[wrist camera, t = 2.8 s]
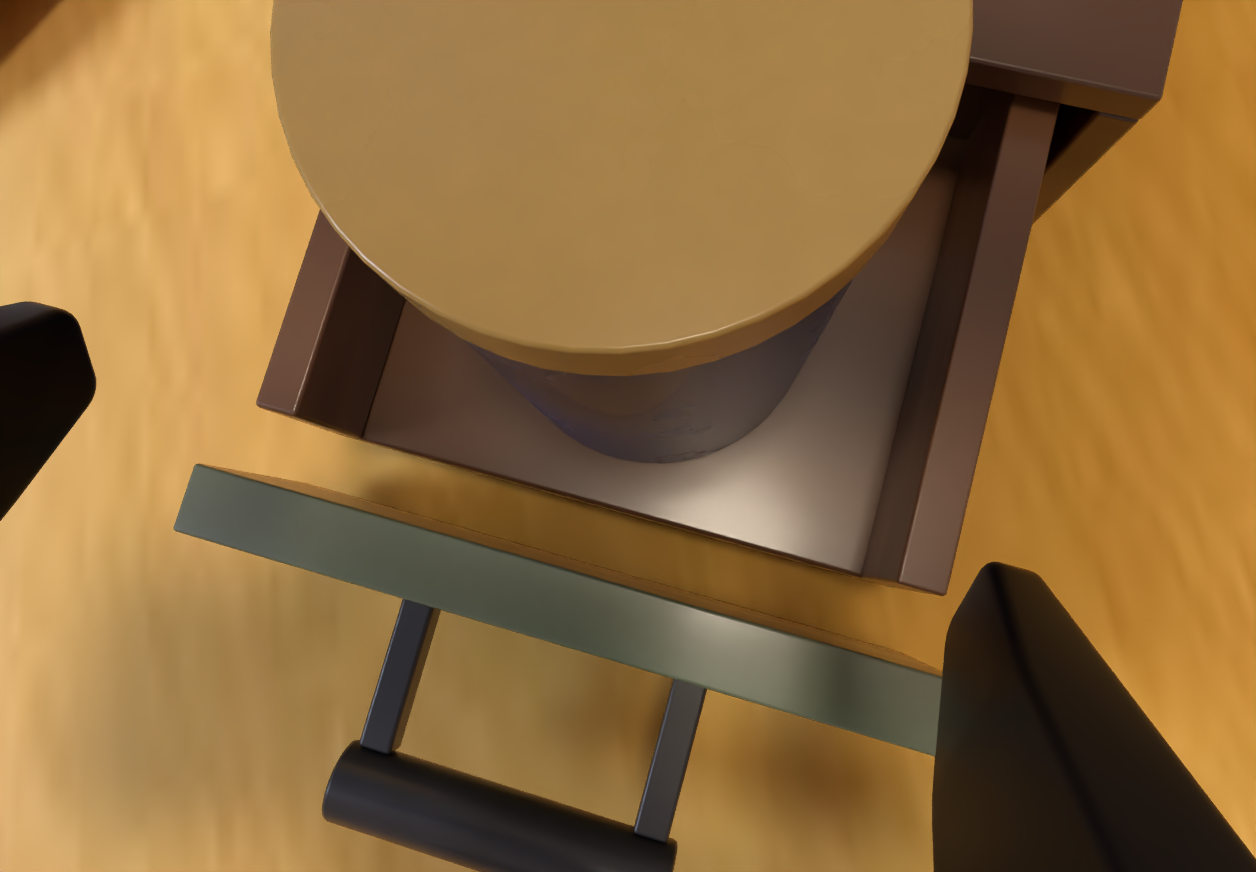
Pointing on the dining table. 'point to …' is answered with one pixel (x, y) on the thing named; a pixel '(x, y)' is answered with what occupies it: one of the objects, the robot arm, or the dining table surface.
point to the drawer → (652, 506)
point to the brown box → (1076, 70)
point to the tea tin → (622, 183)
